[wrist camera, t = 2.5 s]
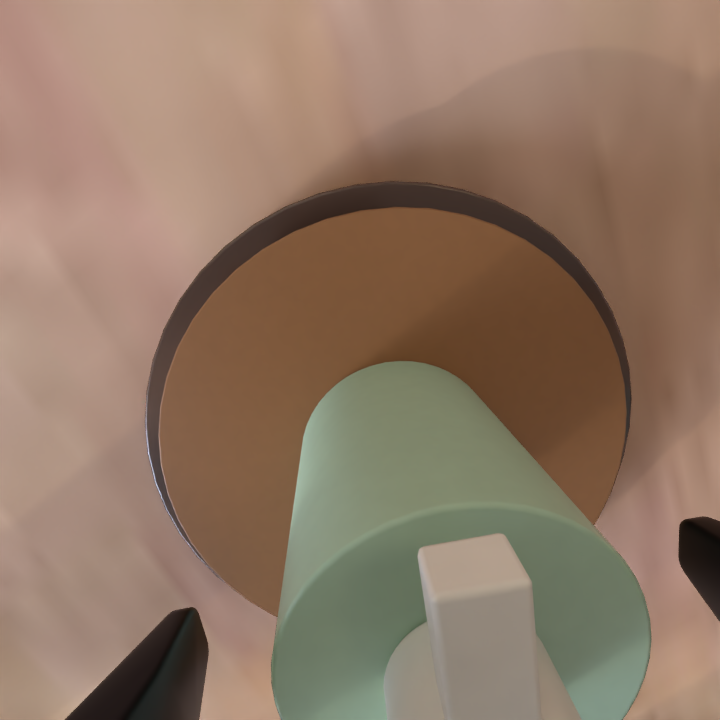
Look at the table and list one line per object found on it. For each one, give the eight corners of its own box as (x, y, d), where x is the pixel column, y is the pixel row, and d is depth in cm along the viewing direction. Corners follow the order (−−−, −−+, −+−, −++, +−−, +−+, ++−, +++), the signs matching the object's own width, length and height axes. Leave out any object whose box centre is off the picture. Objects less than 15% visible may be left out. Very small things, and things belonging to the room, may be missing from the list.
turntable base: (616, 574, 17) (633, 595, 16) (220, 645, 17) (213, 670, 16) (610, 144, 13) (632, 137, 12) (92, 231, 13) (73, 231, 12)
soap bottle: (614, 583, 16) (979, 1035, 7) (228, 652, 16) (91, 1208, 7) (608, 169, 12) (1355, -1, 3) (106, 254, 12) (-536, 315, 3)
